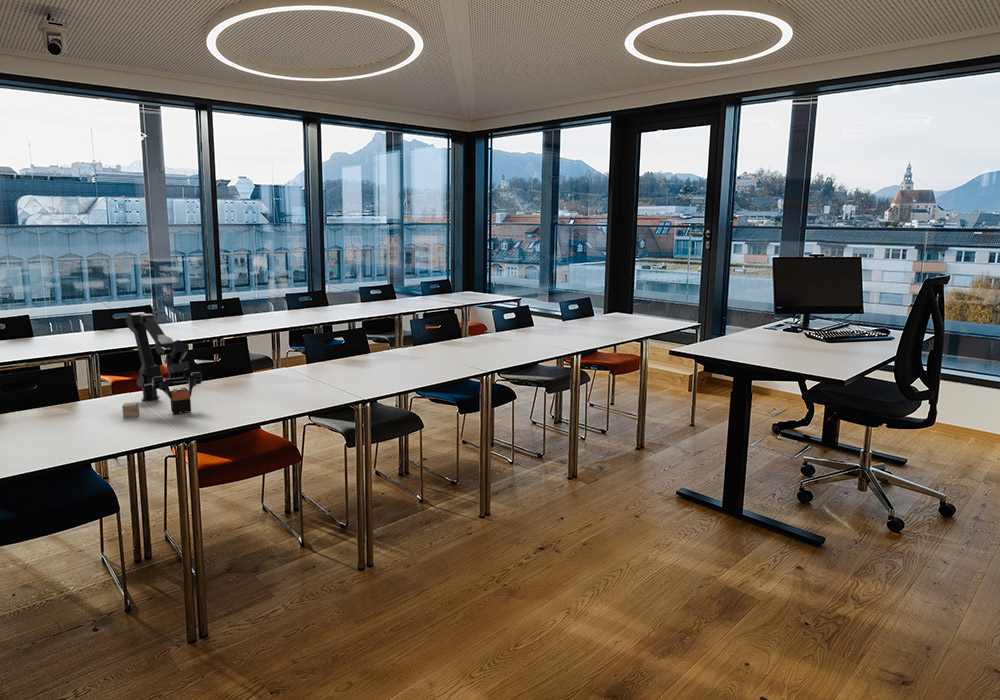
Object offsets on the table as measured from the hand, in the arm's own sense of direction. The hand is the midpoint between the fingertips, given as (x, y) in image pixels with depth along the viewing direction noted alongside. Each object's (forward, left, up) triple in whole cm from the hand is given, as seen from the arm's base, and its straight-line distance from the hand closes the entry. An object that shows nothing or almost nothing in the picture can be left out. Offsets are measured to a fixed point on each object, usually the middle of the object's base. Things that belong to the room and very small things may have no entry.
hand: (180, 397), depth 281 cm
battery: (-1, 0, -7) cm, 7 cm away
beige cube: (-2, -19, -7) cm, 21 cm away
